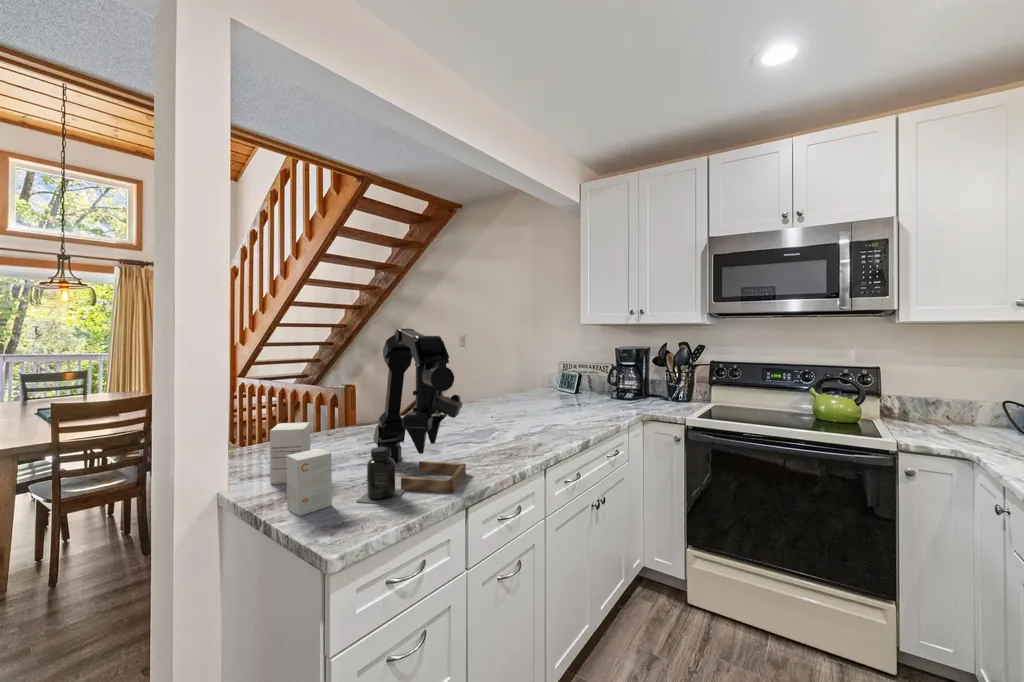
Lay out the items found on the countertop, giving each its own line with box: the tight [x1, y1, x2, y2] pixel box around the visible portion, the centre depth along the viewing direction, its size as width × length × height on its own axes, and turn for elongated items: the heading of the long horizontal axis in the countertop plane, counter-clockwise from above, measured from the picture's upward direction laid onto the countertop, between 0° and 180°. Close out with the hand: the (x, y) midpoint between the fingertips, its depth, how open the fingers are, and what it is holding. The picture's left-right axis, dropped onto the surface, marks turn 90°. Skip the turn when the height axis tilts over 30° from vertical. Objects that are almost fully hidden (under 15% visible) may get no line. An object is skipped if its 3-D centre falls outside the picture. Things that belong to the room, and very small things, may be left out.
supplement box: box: [269, 421, 311, 485], centre depth 125 cm, size 9×9×15 cm
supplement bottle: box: [366, 446, 396, 500], centre depth 112 cm, size 7×7×12 cm
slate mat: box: [356, 488, 406, 506], centre depth 112 cm, size 9×9×1 cm
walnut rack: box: [400, 460, 467, 494], centre depth 124 cm, size 14×15×3 cm
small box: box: [286, 448, 333, 517], centre depth 105 cm, size 8×6×13 cm
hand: (427, 448), depth 110 cm, fingers open, 9 cm apart
